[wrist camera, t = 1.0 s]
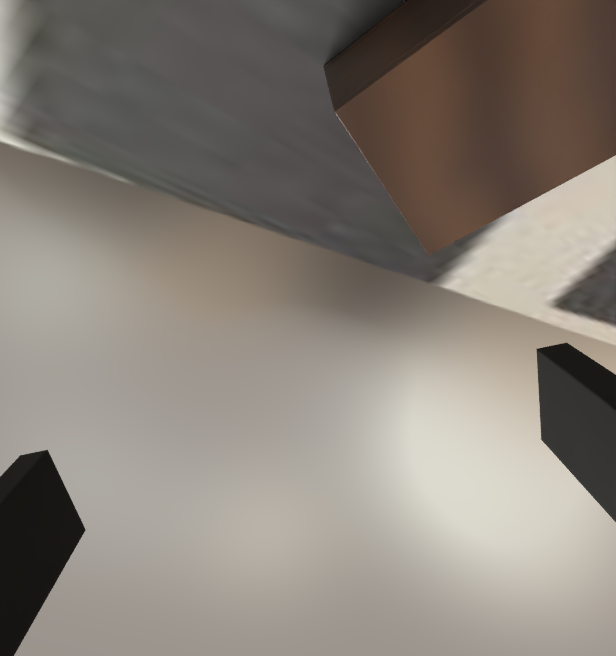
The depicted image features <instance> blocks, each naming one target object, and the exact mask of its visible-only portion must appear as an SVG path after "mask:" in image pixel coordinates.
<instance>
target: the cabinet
mask: <svg viewBox="0 0 616 656" xmlns="http://www.w3.org/2000/svg"><path fill="white" fill-rule="evenodd" d="M324 71H325V75H326V79H327V83H328V87H329V92H330V96H331V100H332V104H333V108H334V112H335V114H336V115H337V117H338V118H339V120H340V121H341V123H342V124H343V126H344V127H345V129H346V130H347V132H348V133H349V135H350V136H351V138H352V139H353V141H354V143H355V144H356V146H357V147H358V149H359V150H360V152H361V153H362V155H363V156H364V158H365V159H366V161H367V162H368V164H369V165H370V167H371V168H372V170H373V171H374V173H375V175H376V176H377V178H378V179H379V181H380V182H381V184H382V185H383V187H384V188H385V190H386V191H387V193H388V194H389V196H390V197H391V199H392V200H393V202H394V203H395V205H396V207H397V208H398V210H399V211H400V213H401V214H402V216H403V217H404V219H405V220H406V222H407V223H408V225H409V226H410V228H411V229H412V231H413V232H414V234H415V236H416V237H417V239H418V240H419V242H420V243H421V245H422V246H423V248H424V249H425V251H426V252H427V254H428V255H431V254H432V253H434V252H436V251H438V250H440V249H442V248H444V247H445V246H447V245H449V244H451V243H453V242H455V241H457V240H459V239H460V238H462V237H464V236H466V235H468V234H470V233H472V232H473V231H475V230H477V229H479V228H481V227H483V226H485V225H486V224H488V223H490V222H492V221H494V220H496V219H498V218H499V217H501V216H503V215H505V214H507V213H509V212H511V211H513V210H514V209H516V208H518V207H520V206H522V205H524V204H526V203H527V202H529V201H531V200H533V199H535V198H537V197H539V196H540V195H542V194H544V193H546V192H548V191H550V190H552V189H553V188H555V187H557V186H559V185H561V184H563V183H565V182H567V181H568V180H570V179H572V178H574V177H576V176H578V175H580V174H581V173H583V172H585V171H587V170H589V169H591V168H593V167H594V166H596V165H598V164H600V163H602V162H604V161H606V160H608V159H609V158H611V157H613V156H615V155H616V0H407V1H406V2H405V3H404V4H402V5H401V6H400V7H399V8H397V9H396V10H395V11H393V12H392V13H391V14H390V15H388V16H387V17H386V18H384V19H383V20H382V21H381V22H379V23H378V24H377V25H376V26H374V27H373V28H372V29H370V30H369V31H368V32H367V33H365V34H364V35H363V36H361V37H360V38H359V39H358V40H356V41H355V42H354V43H353V44H351V45H350V46H349V47H347V48H346V49H345V50H344V51H342V52H341V53H340V54H338V55H337V56H336V57H335V58H333V59H332V60H331V61H330V62H328V63H327V64H326V65H324Z"/></svg>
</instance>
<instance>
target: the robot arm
mask: <svg viewBox="0 0 616 656" xmlns="http://www.w3.org/2000/svg"><path fill="white" fill-rule="evenodd" d="M537 363H538V383H539V402H540V420H541V439H542V441H543V442H544V443H545V444H546V445H547V446H548V447H549V448H550V450H551V451H552V452H553V453H554V454H555V455H556V456H557V457H558V458H559V460H561V462H562V463H563V464H564V465H565V466H566V467H567V469H569V471H570V472H571V473H572V474H573V475H574V476H575V477H576V479H577V480H578V481H579V482H580V483H581V484H582V485H583V486H584V487H585V488H586V490H587V491H588V492H589V493H590V494H591V495H592V496H593V497H594V499H595V500H596V501H597V502H598V503H599V504H600V505H601V506H602V507H603V508H604V510H605V511H606V512H607V513H608V514H609V515H610V516H611V517H612V519H613V520H614V521H615V522H616V375H615V374H614V373H612V372H611V371H609V370H608V369H606V368H605V367H603V366H601V365H600V364H598V363H597V362H595V361H594V360H592V359H591V358H589V357H588V356H586V355H584V354H583V353H582V352H580V351H579V350H577V349H575V348H574V347H572V346H571V345H569V344H568V343H564V344H559V345H554V346H549V347H544V348H540V349H537ZM84 532H85V528H84V526H83V524H82V521H81V519H80V517H79V515H78V513H77V511H76V509H75V507H74V505H73V502H72V500H71V498H70V496H69V494H68V492H67V490H66V488H65V486H64V484H63V481H62V479H61V477H60V475H59V473H58V471H57V469H56V467H55V465H54V462H53V460H52V458H51V456H50V454H49V452H48V450H45V451H40V452H35V453H30V454H25V455H20V456H19V458H18V459H17V460H16V461H15V462H14V463H13V464H12V465H11V466H10V467H9V468H8V469H7V470H6V471H5V472H4V474H3V475H2V476H1V477H0V656H14V654H15V653H16V651H17V649H18V647H19V646H20V644H21V642H22V640H23V639H24V636H25V635H26V633H27V632H28V630H29V628H30V626H31V624H32V623H33V621H34V619H35V617H36V616H37V614H38V612H39V610H40V609H41V607H42V605H43V603H44V602H45V600H46V598H47V596H48V594H49V593H50V591H51V589H52V588H53V586H54V584H55V582H56V581H57V579H58V577H59V575H60V574H61V572H62V570H63V568H64V567H65V565H66V563H67V561H68V560H69V558H70V556H71V554H72V553H73V551H74V549H75V547H76V546H77V544H78V542H79V540H80V539H81V537H82V535H83V533H84Z"/></svg>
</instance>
